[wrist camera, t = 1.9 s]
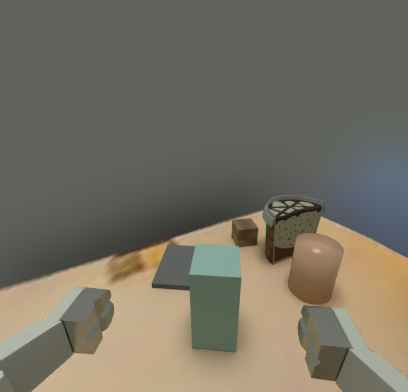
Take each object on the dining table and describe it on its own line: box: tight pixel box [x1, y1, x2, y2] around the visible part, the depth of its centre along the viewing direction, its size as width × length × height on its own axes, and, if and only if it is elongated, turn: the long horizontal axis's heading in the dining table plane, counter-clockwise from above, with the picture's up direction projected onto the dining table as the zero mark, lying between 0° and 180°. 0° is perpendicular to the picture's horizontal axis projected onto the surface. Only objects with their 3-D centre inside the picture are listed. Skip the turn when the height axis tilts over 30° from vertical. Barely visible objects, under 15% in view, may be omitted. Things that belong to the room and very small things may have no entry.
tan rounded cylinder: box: [288, 233, 344, 305], centre depth 32 cm, size 6×6×8 cm
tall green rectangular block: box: [189, 244, 241, 352], centre depth 26 cm, size 5×5×11 cm
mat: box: [152, 245, 195, 290], centre depth 38 cm, size 10×10×1 cm
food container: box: [263, 195, 325, 264], centre depth 41 cm, size 12×6×10 cm, turn 115°
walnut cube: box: [232, 218, 258, 247], centre depth 45 cm, size 4×4×4 cm
